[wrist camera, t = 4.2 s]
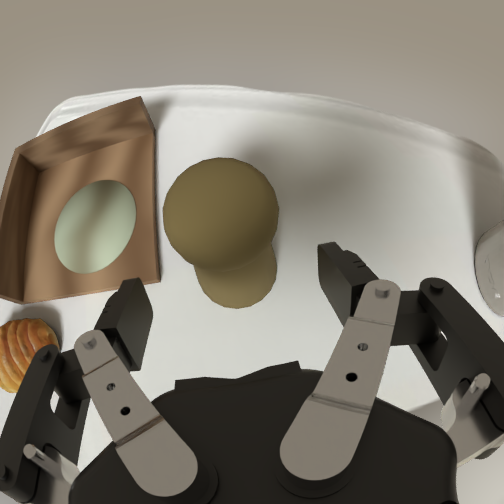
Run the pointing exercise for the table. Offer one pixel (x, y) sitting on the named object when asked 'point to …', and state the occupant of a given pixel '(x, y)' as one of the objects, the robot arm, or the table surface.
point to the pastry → (21, 349)
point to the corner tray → (81, 208)
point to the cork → (225, 229)
